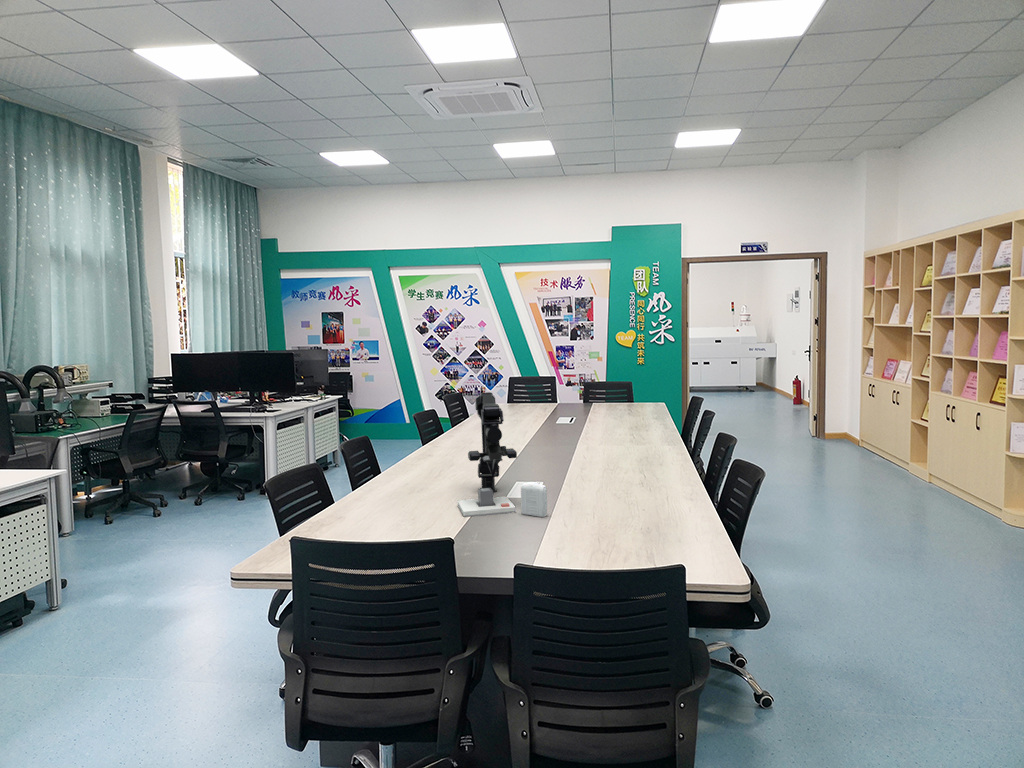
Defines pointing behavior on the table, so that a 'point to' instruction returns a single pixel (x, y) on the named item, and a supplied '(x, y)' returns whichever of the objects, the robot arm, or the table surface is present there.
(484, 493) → the plug
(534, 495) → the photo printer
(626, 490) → the table surface
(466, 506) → the socket plate
